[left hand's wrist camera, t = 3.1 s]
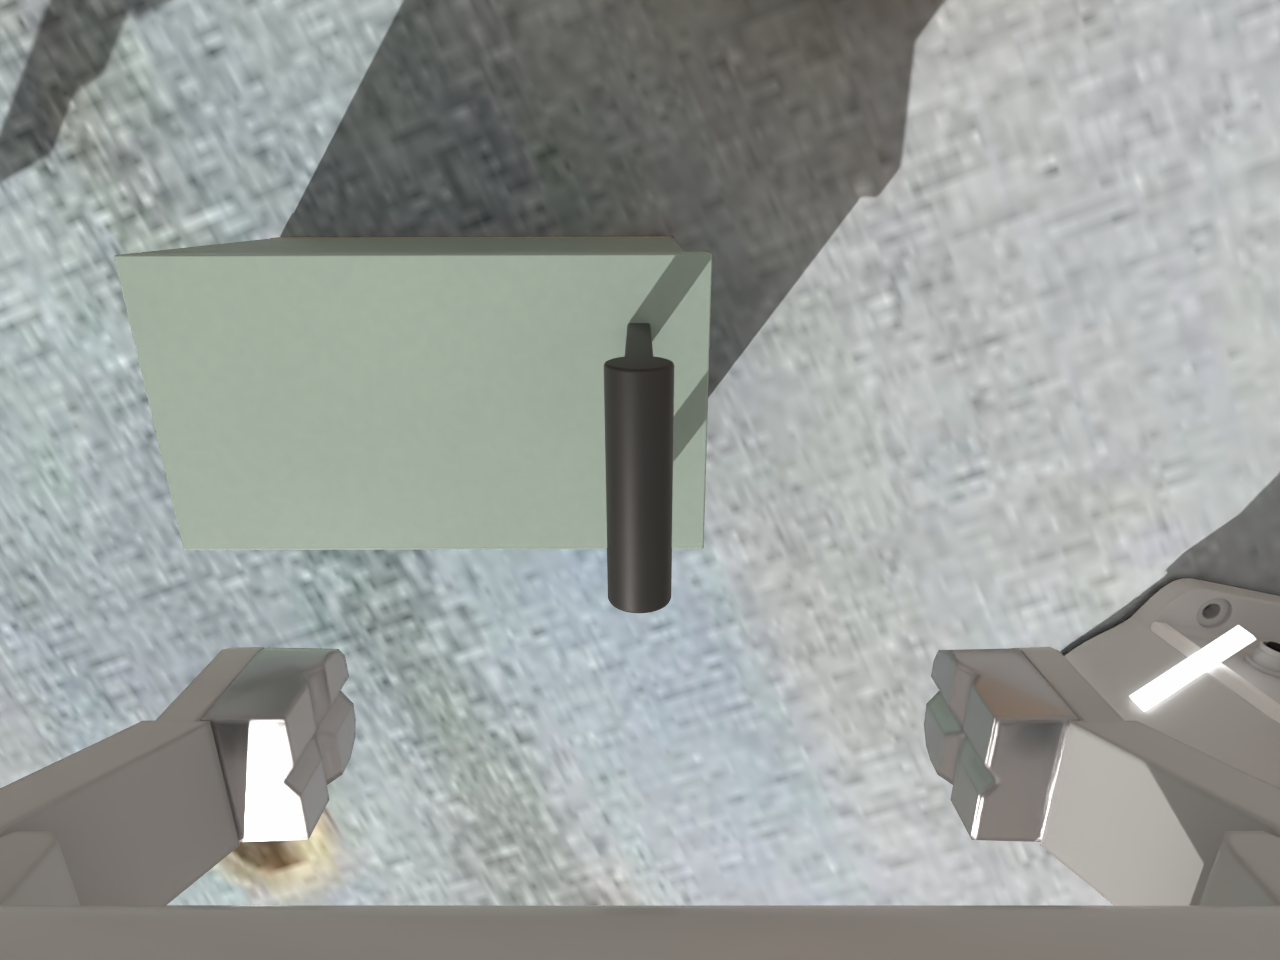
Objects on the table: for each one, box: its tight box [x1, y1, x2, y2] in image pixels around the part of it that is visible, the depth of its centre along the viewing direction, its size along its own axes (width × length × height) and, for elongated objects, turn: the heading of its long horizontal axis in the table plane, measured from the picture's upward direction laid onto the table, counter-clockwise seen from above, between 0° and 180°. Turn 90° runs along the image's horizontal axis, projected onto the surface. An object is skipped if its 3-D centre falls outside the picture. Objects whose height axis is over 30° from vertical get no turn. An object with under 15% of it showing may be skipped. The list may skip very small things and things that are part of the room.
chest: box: [142, 236, 684, 253], centre depth 29 cm, size 17×10×10 cm, turn 90°
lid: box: [114, 252, 712, 613], centre depth 21 cm, size 18×10×8 cm, turn 90°
